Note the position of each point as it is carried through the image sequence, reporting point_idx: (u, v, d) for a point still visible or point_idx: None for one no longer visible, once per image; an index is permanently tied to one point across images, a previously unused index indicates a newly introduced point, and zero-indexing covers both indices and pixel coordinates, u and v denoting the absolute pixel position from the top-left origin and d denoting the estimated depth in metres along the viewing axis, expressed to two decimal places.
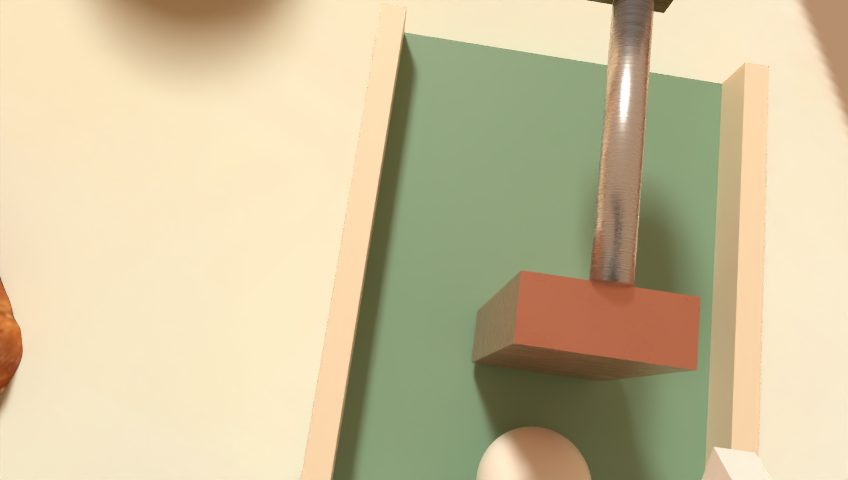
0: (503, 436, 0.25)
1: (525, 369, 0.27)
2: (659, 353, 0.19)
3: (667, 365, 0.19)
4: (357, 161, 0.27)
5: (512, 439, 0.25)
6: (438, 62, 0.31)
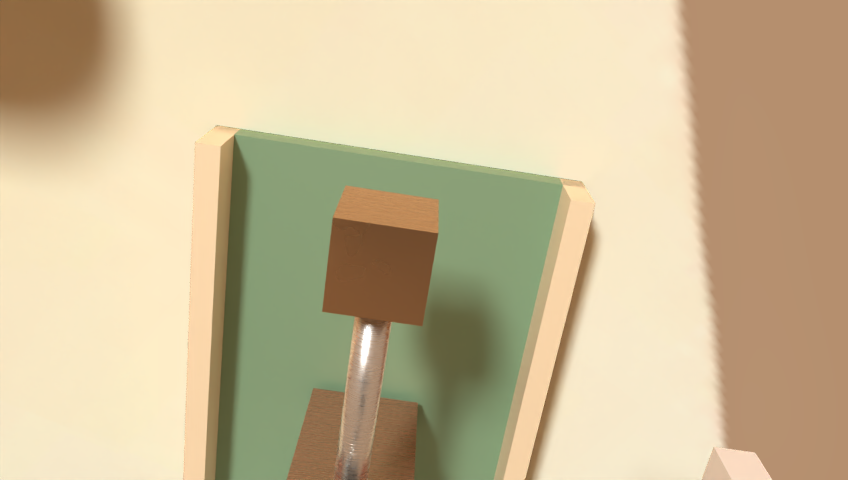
0: None
1: None
2: None
3: None
4: (191, 296, 0.31)
5: None
6: (271, 166, 0.31)
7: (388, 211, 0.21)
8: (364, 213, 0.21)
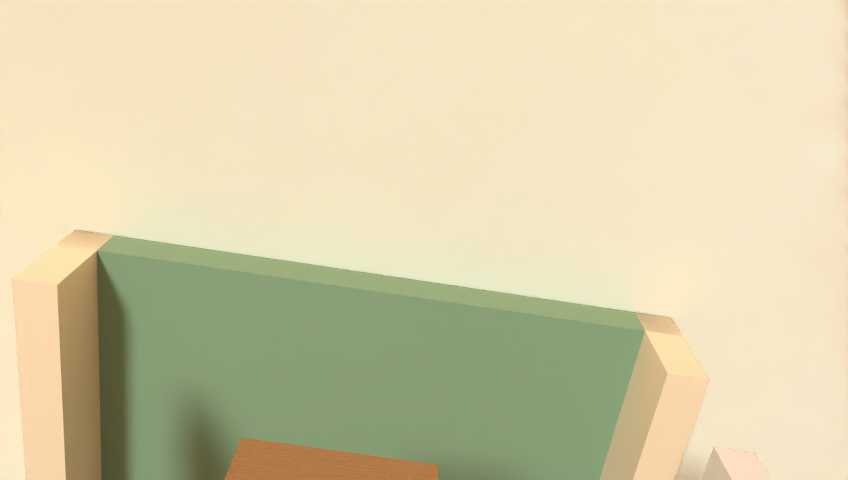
0: None
1: None
2: None
3: None
4: None
5: None
6: (161, 299, 0.18)
7: None
8: None
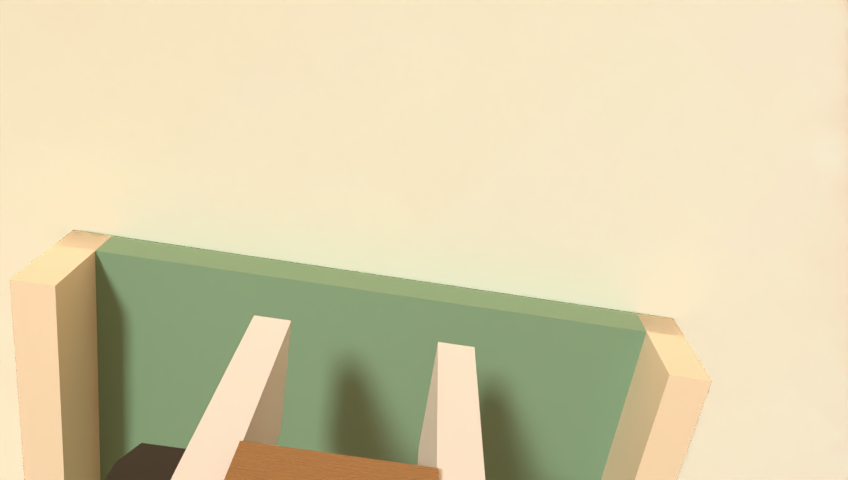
0: None
1: None
2: None
3: None
4: None
5: None
6: (160, 300, 0.18)
7: None
8: None
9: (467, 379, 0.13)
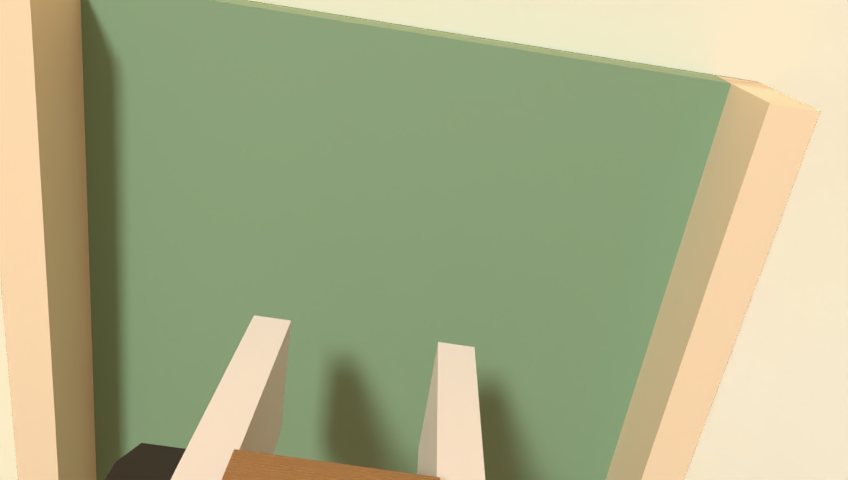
0: None
1: None
2: None
3: None
4: (6, 300, 0.16)
5: None
6: (157, 46, 0.16)
7: None
8: None
9: (466, 379, 0.13)
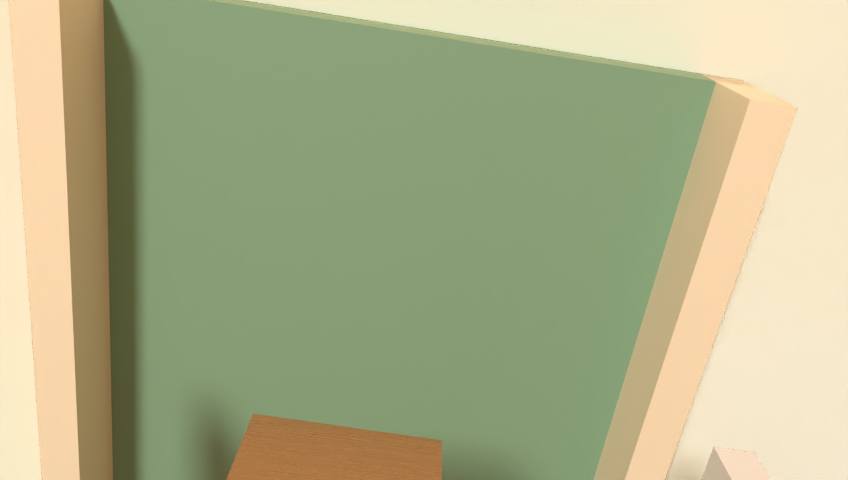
0: None
1: None
2: None
3: None
4: (32, 286, 0.17)
5: None
6: (175, 46, 0.17)
7: None
8: None
9: None
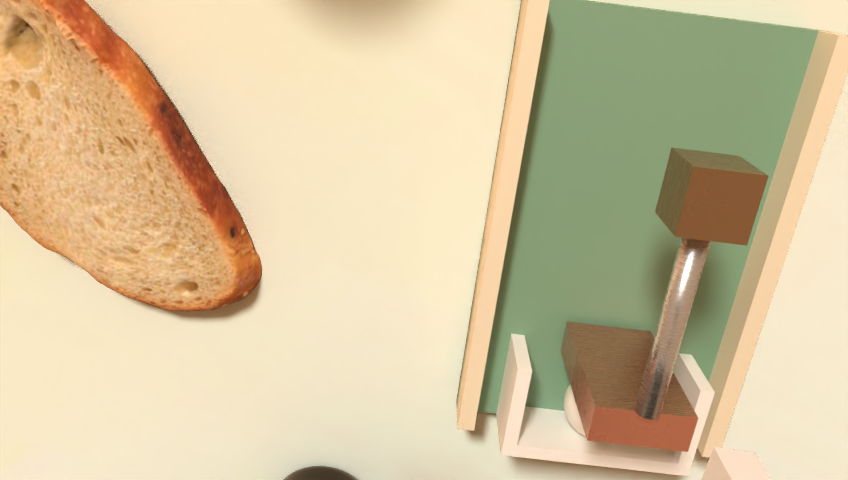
0: (577, 427, 0.42)
1: None
2: (668, 444, 0.35)
3: (671, 448, 0.35)
4: (508, 134, 0.37)
5: (579, 432, 0.42)
6: (572, 23, 0.36)
7: (721, 163, 0.29)
8: (708, 164, 0.29)
9: None
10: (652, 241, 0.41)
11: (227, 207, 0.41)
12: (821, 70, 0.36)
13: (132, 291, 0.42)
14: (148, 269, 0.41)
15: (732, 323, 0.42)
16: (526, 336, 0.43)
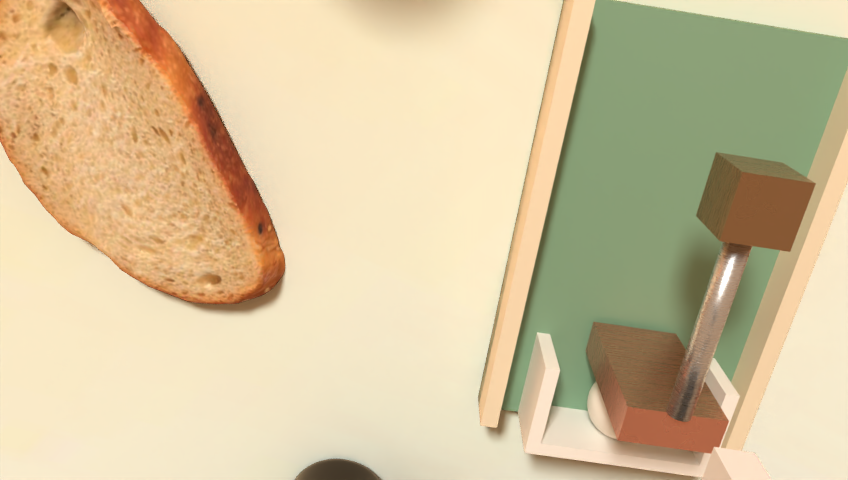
0: (601, 426, 0.42)
1: None
2: (697, 446, 0.35)
3: (700, 451, 0.36)
4: (546, 134, 0.37)
5: (602, 432, 0.42)
6: (614, 24, 0.37)
7: (767, 169, 0.30)
8: (756, 170, 0.29)
9: None
10: (682, 244, 0.41)
11: (256, 203, 0.41)
12: None
13: (154, 281, 0.42)
14: (172, 260, 0.41)
15: (757, 328, 0.42)
16: (551, 335, 0.43)
